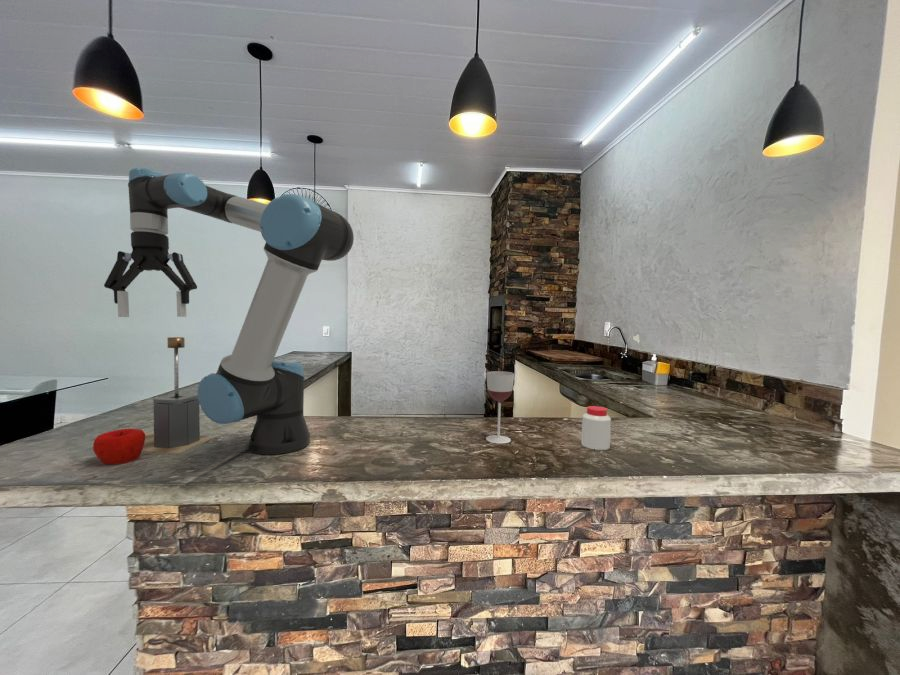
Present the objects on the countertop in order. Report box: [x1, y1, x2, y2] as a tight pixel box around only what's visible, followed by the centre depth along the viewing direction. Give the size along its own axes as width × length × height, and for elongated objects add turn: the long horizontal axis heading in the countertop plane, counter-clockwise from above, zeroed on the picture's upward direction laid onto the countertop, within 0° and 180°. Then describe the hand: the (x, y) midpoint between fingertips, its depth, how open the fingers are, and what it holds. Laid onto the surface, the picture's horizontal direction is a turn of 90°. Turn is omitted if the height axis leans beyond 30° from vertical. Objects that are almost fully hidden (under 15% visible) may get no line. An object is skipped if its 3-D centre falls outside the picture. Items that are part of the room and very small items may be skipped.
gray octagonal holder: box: [152, 393, 201, 448], centre depth 99 cm, size 10×12×12 cm
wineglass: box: [485, 370, 515, 444], centre depth 111 cm, size 8×9×20 cm
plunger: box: [166, 336, 186, 398], centre depth 98 cm, size 7×7×20 cm
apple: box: [92, 428, 146, 465], centre depth 86 cm, size 9×9×8 cm
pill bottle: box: [580, 405, 612, 451], centre depth 108 cm, size 8×8×11 cm
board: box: [142, 432, 216, 454], centre depth 98 cm, size 22×13×1 cm, turn 85°
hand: (153, 316), depth 95 cm, fingers open, 13 cm apart
